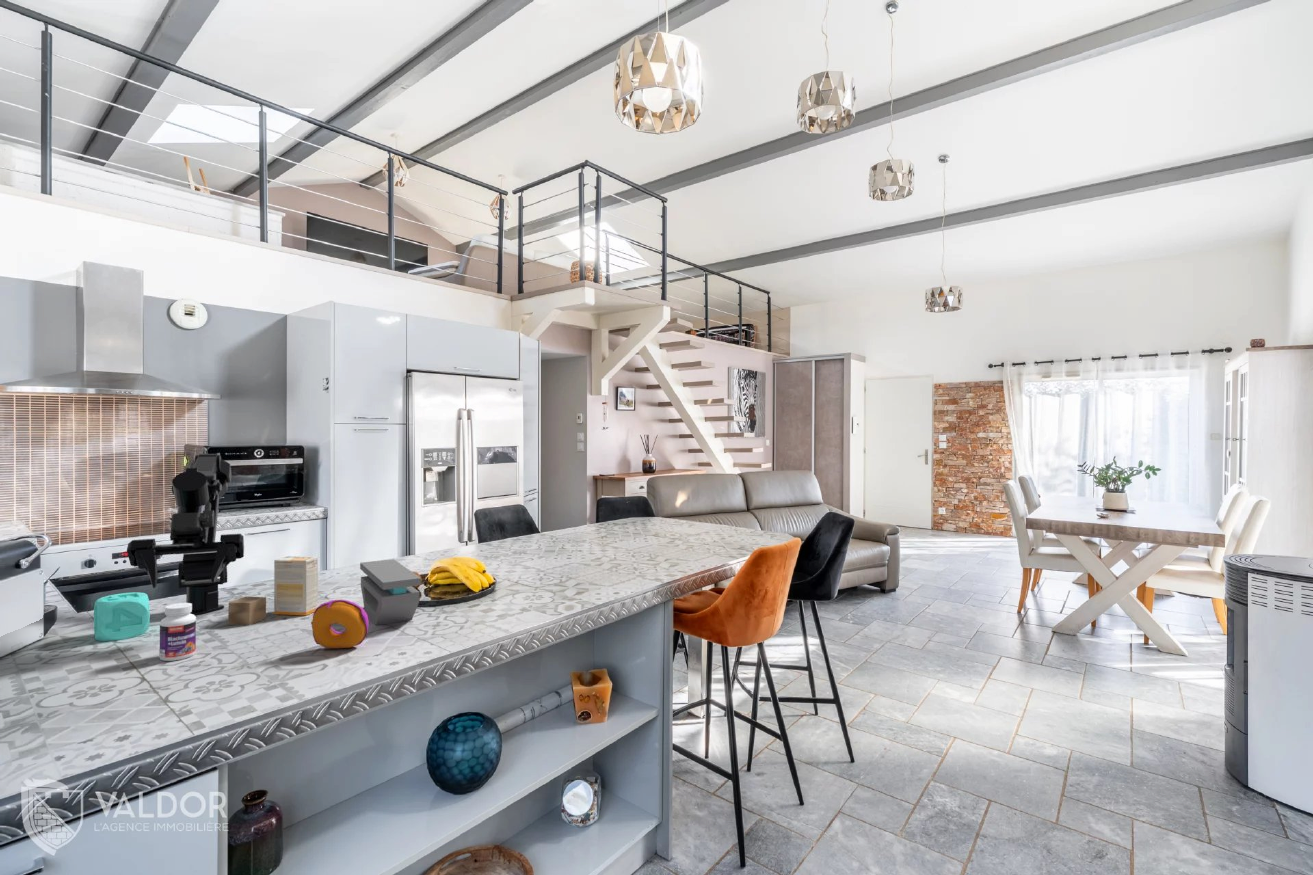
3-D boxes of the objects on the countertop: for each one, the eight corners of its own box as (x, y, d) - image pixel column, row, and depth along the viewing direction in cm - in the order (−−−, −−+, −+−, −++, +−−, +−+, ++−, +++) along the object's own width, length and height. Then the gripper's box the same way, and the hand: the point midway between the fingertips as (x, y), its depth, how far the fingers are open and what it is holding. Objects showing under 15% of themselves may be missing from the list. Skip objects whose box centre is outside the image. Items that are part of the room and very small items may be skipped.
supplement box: (319, 610, 144) (319, 556, 144) (305, 616, 139) (306, 560, 139) (287, 609, 145) (288, 555, 145) (272, 614, 140) (273, 559, 140)
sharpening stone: (420, 626, 133) (420, 578, 133) (382, 633, 128) (383, 582, 128) (393, 601, 153) (393, 559, 153) (359, 606, 148) (360, 562, 148)
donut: (340, 640, 123) (341, 591, 123) (373, 646, 120) (374, 596, 120) (305, 652, 116) (305, 601, 116) (339, 659, 113) (340, 606, 113)
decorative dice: (149, 634, 125) (150, 596, 125) (97, 644, 119) (98, 604, 119) (143, 626, 130) (144, 590, 131) (93, 635, 125) (93, 596, 125)
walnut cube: (228, 624, 133) (228, 602, 133) (245, 618, 138) (245, 596, 138) (249, 625, 132) (249, 603, 132) (265, 618, 137) (266, 597, 137)
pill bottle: (166, 663, 109) (166, 611, 109) (154, 657, 112) (155, 606, 112) (200, 655, 114) (201, 604, 114) (188, 649, 117) (189, 599, 117)
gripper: (129, 499, 118) (114, 565, 109) (244, 495, 128) (239, 556, 118) (137, 533, 125) (124, 598, 115) (245, 527, 134) (241, 587, 125)
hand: (183, 584), depth 118 cm, fingers open, 9 cm apart
